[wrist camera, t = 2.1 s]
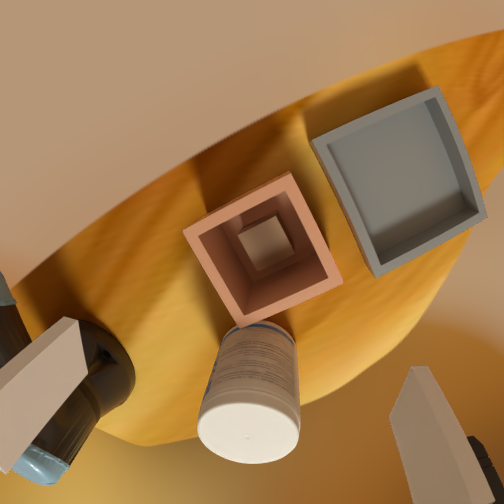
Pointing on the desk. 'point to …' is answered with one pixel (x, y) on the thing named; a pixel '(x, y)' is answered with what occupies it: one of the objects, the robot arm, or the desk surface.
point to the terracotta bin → (240, 265)
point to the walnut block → (267, 241)
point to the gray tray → (402, 179)
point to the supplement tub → (252, 396)
